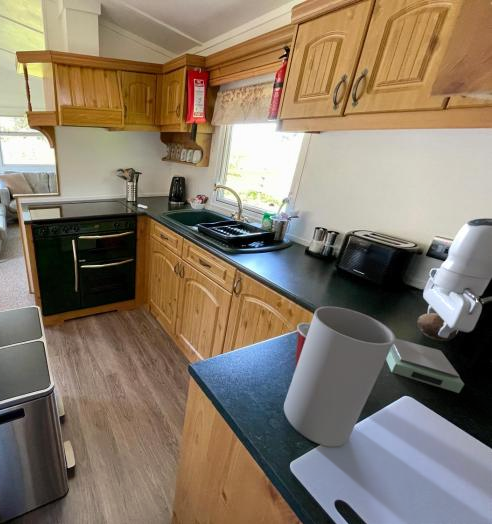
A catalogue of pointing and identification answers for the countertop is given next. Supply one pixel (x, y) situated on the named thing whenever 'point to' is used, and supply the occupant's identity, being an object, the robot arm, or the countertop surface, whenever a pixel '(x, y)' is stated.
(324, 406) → the cylinder vase
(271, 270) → the countertop surface
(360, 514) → the countertop surface
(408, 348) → the scale pan
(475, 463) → the countertop surface
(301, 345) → the plastic cup
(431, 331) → the brown potato
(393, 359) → the scale base
